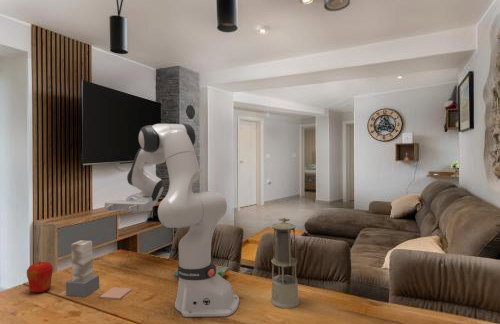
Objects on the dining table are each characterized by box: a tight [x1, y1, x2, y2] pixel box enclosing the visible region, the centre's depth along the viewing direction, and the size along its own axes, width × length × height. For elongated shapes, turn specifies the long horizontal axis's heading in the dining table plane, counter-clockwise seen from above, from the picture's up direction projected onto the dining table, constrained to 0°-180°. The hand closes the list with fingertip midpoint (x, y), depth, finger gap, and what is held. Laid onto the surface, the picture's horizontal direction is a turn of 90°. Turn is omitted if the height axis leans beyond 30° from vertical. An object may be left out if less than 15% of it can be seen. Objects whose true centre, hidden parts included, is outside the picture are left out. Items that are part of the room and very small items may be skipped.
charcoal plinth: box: [65, 274, 100, 298], centre depth 121 cm, size 8×8×5 cm
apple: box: [26, 261, 54, 294], centre depth 122 cm, size 9×8×12 cm
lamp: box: [269, 217, 301, 309], centre depth 113 cm, size 10×13×30 cm
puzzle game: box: [173, 265, 230, 280], centre depth 133 cm, size 12×5×20 cm
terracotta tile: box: [99, 286, 133, 301], centre depth 119 cm, size 8×8×1 cm
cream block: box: [70, 239, 94, 282], centre depth 121 cm, size 5×5×14 cm
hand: (117, 209), depth 134 cm, fingers open, 8 cm apart
